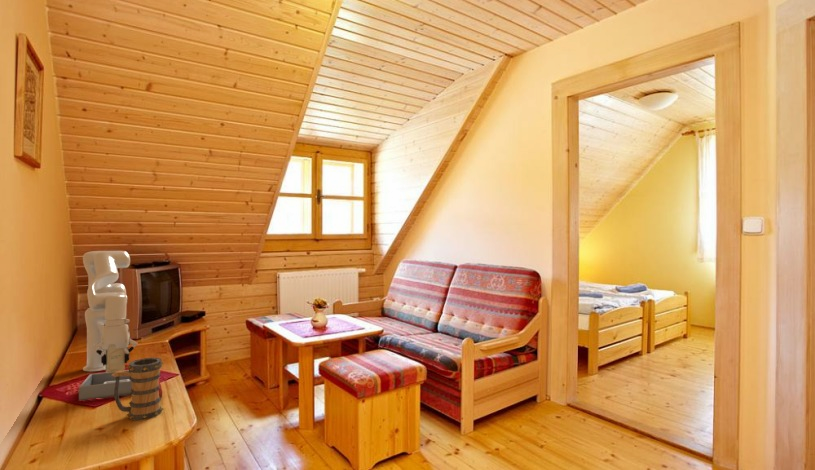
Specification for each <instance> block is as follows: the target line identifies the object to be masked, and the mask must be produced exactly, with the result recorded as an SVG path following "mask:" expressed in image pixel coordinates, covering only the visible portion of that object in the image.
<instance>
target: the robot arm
mask: <svg viewBox="0 0 815 470" xmlns="http://www.w3.org/2000/svg"><path fill="white" fill-rule="evenodd" d="M82 263H83V266H84V269H85V271H86V273H87V277H88V288H87V292H86V294H87V296H86V297H87V302H88V306H89V307H88V308H87V309H86V310H85V311H84V319H85V320H84V321H85V325H86V365H85V366H83V367H82V371H83V372H86V373H87V372H89V373H90V372H91V373H93V372H100V371H106V351H107V350H108V347H109V345H114V344H115V345H116V348H117V349H124V351H125V364H127V363H128V362H129V361H130V353H131V352H132V351H133V350H134V349H135V348H136V346H137V345H138V342H137V341H135V340H133V339H131V337H130V336H131V335H130V328H129V324H128V323H130V321H131V320H130V319H128V318H127V304H128V296H127V288H126V287H125V285H124V284H123V283H119V282H117V281H118V279H119V277H120V276H119V275H120V274H119V271H118V269H127V268H129V266H130V264H131V257H130V254H129V253H128V252H127V251H126V250H92V251H87V252H85V253H84V254H83V256H82ZM115 282H116V283H115ZM130 345H131V347H129V346H130Z"/></svg>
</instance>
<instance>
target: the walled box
mask: <svg viewBox="0 0 815 470" xmlns="http://www.w3.org/2000/svg"><path fill="white" fill-rule="evenodd" d="M124 371H129V369H125V370H124ZM114 373H115V372H114ZM112 374H113V373H108V372H106V371H105V372H97V373H90V374H89V375H88V376H87V377H86V379H85V380H84V381H83V382H82V383H81V384H79V386H78V402H79V401H82V400H88V399H96V398H106V399H108V398H107V397H114V389H115V383H116V377H114V376H112ZM130 377H131V376H120V381H119V388H118V395H119V396H122V397H127V396H129V397H130V396H132V394H131V393H130V392H131V389H132V382H131V380H129V378H130ZM114 398H115V397H114Z"/></svg>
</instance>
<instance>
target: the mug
mask: <svg viewBox="0 0 815 470" xmlns="http://www.w3.org/2000/svg"><path fill="white" fill-rule="evenodd" d="M164 364H165V362H164V361H163V360H162V358H159V357H144V358H140V359H134V360H133V361H130V362H129V363H128V365H127V366H125V369H127V370H129V371H116V372H115V373H113V374H112V376H114V377H116V383H115V389H114V401H115V404H116V406H117V408H118V409H119V411H121V412H124V413H125V412H126V413H127V414H125V416H126V417H128V419H129V420H131V419H132V421H145V420H149V419H152V418H156V417H157V416H159V415H160V414H161V413H162V411H163V410H165V408H163V407H162V406H161V403H160V402H161V400H162V398H160V397H159V389H160V385H159V382H160V377H161V376H162V373H161V368H162V366H163V365H164ZM120 376H131V377H130V378H129V380H131V382H132V389H131V392H130V393H131V394H132V395H131V400H130V401H129V403H128V404H129V406H125V405H123V404H122V402H121V400H120V397H119V395H118V388H119V381H120Z"/></svg>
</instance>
